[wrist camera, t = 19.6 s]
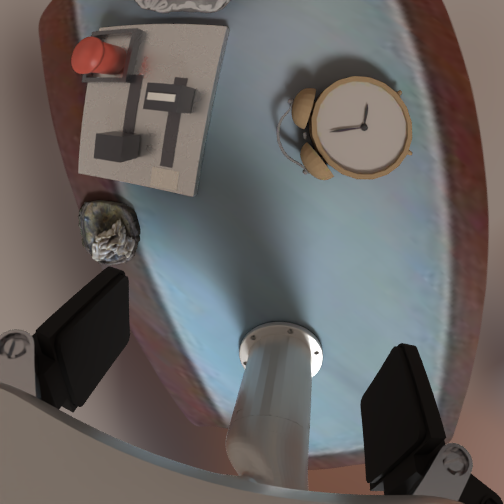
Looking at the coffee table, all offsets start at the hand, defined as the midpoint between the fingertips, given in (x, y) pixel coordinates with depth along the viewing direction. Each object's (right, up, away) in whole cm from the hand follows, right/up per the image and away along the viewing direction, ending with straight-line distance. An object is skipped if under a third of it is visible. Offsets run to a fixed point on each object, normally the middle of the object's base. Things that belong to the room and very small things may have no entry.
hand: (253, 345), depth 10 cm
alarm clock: (+10, +17, +23) cm, 30 cm away
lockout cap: (-18, +27, +21) cm, 39 cm away
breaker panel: (-13, +22, +24) cm, 35 cm away
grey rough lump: (-21, +6, +33) cm, 40 cm away
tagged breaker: (-9, +21, +22) cm, 31 cm away
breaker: (-16, +16, +25) cm, 34 cm away
